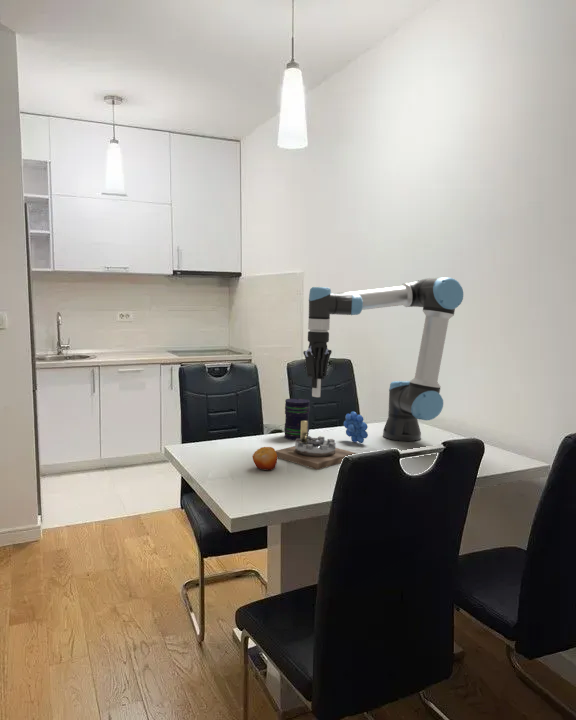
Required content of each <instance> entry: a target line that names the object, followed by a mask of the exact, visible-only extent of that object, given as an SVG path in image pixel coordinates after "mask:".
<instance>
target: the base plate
mask: <svg viewBox="0 0 576 720" xmlns="http://www.w3.org/2000/svg"><path fill="white" fill-rule="evenodd" d="M275 451H276V453H277V457H278V458H279V459H281V460H285V461H288V462H290V463H294V464H298V465H301V466H304V467H307V468H311V469H314V470H317V471H318V470H322V469H324V468H328V467H332V466H334V465H338V464H341V461H342V459H343V458H344V457H345V456H348V455H352V454H356V452H354V451H350V450H346V449H341V448H338V447H335V454H333V455H330V456H323V457H313V456H305V455H301V454H298V453H297V452H295V445H294V446H290V447H289V446H288V447H285V448H280V449H277V450H275ZM278 458H277V459H278Z"/></svg>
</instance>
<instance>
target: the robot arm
mask: <svg viewBox="0 0 576 720" xmlns="http://www.w3.org/2000/svg"><path fill="white" fill-rule="evenodd" d="M463 300H464V290H463V287H462V285H461V283H460V282H459V281H458V280H457V279H455V278H453V277H447V276H446V277H445V276H441V277H429V278H427V277H426V278H423V279H420V280H415V281H409V282H405V283H402V284H401V285H398V286H389V287H381V288H370V289H361V290H354V291H347V292H346V291H345V292H335V293H333V292H332V290H331V288H330V287H323V286H321V287H320V286H313V287H311V288H310V290H309V295H308V323H307V325H308V326H307V329H308V330H309V331H308V332H307V341H308V343H309V344H308V349H307V350H303V352H302V353H303V356H304V358H305V365H306V374H307V375H306V376H307V378H309V379H311V388H312V389H311V397H312V398H313V397H314V398H321V394H322V393H321V391H322V389H321V388H322V383H323V380H324V379H325V377H327V372H328V367H329V361H330V358H331V357H330V356H331V355H332V352H333V351H332V349H329V348H328V344H327V343H329V341H330V332H329V331H330V322H331V321H330V319H331V315H341V316H342V315H343V316H358V315H360V314H361V313H362V311H365V310H374V309H382V308H390V307H398V306H403V307H405V308H410V307H411V308H413V307H414V308H415V307H416V308H422V312H423V314H424V315H425V319H424V324H423V328H422V334H421V335H422V336H421V339H420V340H421V341H420V347H419V352H418V357H417V364H416V366H415V367H416V369H415V373H414V378H413V379H411V380H405V381H404V380H396V381H391V382H390V384H389V389H388V392H389V395H388V415H387V419H386V422H385V425H384V426H383V427H384V428H383V430H382V431H383V432H382V436H383V437H384V438H386V439H389V440H392V441H398V440H399V441H400V442H415V440H416V441H420V440H421V439H422V431H421V428H420V424H419V421H418V420H421V421H432V420H433V419H435V418H437V417H438V416H439V415H440V413H442V412H443V411H442V410H443V408H444V399H443V397H442V395H441V394H440V392H441V388H442V387H441V385H440V383H439V381H438V380H439V374H440V370H441V363H442V359H443V358H442V357H443V353H444V347H445V343H446V342H445V341H446V337H447V331H448V327H449V326H448V325H449V320H450V319H451V318H453V317H454V316H455V311H456V309H457V308H458V307H459V306H460V305H462V302H463Z"/></svg>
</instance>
